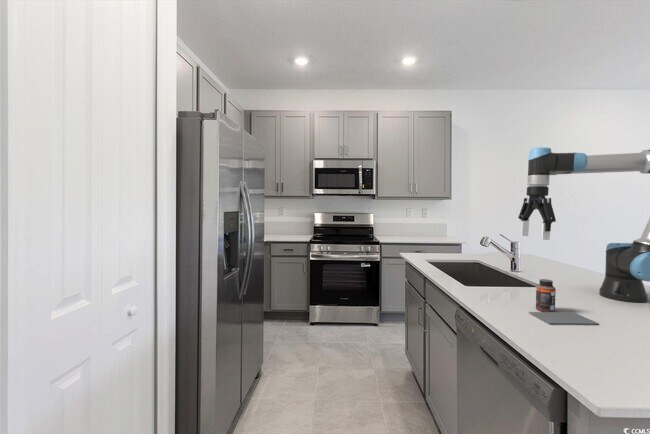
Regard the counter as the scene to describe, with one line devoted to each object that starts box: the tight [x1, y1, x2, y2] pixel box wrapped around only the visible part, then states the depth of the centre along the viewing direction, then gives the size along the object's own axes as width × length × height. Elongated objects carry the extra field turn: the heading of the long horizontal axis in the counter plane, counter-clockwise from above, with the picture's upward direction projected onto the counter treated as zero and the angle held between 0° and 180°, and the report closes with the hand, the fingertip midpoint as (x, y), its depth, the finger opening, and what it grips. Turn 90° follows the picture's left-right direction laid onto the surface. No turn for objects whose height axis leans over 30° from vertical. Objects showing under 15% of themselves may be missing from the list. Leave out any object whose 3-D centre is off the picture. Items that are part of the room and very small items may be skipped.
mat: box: [528, 311, 600, 326], centre depth 113 cm, size 16×11×1 cm
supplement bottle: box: [535, 278, 557, 312], centre depth 121 cm, size 6×6×11 cm
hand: (534, 237), depth 136 cm, fingers open, 13 cm apart
